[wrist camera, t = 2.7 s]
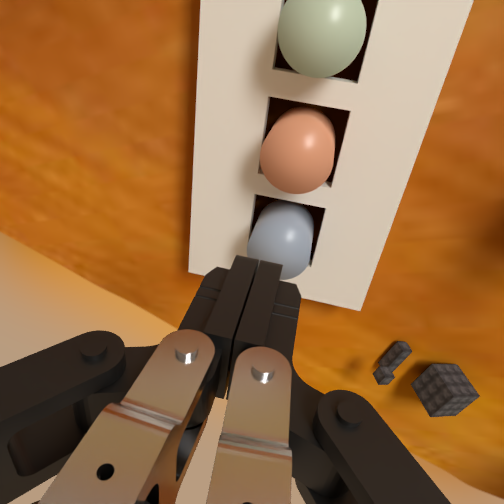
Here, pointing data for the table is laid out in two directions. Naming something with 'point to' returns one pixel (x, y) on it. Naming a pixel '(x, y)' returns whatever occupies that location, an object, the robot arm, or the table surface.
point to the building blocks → (431, 383)
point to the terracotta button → (299, 150)
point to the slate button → (283, 237)
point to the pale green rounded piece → (321, 35)
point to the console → (353, 144)
